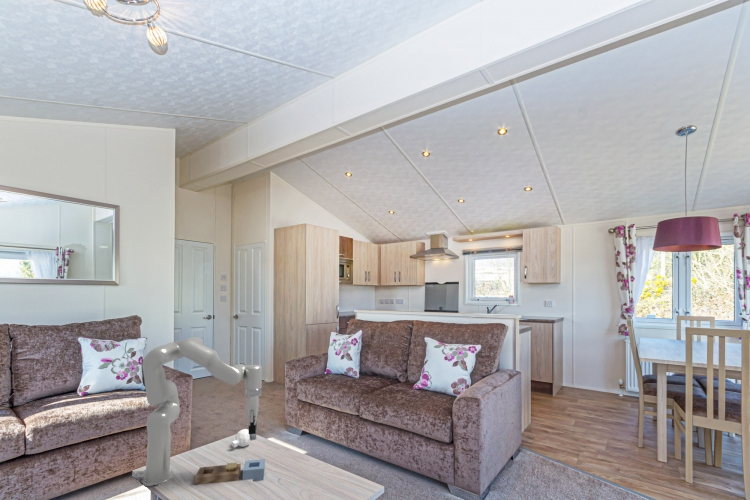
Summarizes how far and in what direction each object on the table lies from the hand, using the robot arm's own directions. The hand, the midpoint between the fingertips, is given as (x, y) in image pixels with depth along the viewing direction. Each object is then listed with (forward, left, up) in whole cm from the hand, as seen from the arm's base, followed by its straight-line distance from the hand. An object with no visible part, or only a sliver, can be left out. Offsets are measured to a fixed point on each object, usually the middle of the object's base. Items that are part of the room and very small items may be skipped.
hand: (252, 432), depth 181 cm
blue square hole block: (+1, 0, -20) cm, 20 cm away
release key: (-9, 0, -19) cm, 21 cm away
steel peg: (0, 0, -3) cm, 3 cm away
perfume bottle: (-8, +36, -20) cm, 42 cm away
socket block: (-14, 0, -20) cm, 24 cm away
